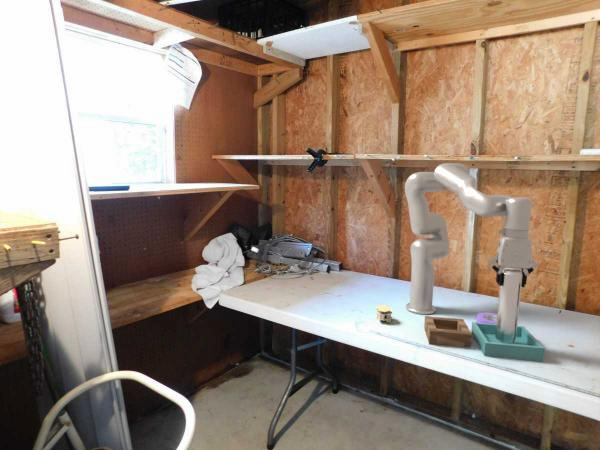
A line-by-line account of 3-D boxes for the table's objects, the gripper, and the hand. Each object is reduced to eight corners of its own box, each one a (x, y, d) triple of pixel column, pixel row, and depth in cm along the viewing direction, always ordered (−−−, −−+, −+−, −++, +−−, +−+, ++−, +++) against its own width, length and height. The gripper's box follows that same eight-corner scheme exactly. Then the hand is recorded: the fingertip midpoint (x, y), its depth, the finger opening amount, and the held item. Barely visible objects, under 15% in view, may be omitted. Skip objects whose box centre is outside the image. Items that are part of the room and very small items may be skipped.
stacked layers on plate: (367, 317, 163) (368, 305, 162) (387, 315, 165) (387, 303, 164) (378, 327, 153) (379, 313, 152) (399, 325, 156) (400, 311, 155)
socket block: (424, 328, 152) (424, 316, 151) (462, 331, 150) (463, 319, 149) (429, 344, 138) (430, 330, 138) (471, 348, 136) (472, 334, 135)
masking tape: (507, 324, 158) (508, 315, 158) (510, 335, 147) (511, 325, 147) (476, 319, 163) (476, 310, 162) (476, 329, 152) (477, 320, 151)
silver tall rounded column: (509, 335, 141) (515, 267, 137) (519, 343, 134) (527, 272, 130) (491, 335, 140) (497, 267, 137) (501, 343, 134) (508, 272, 130)
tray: (471, 333, 148) (472, 322, 147) (522, 337, 145) (523, 326, 144) (484, 355, 131) (485, 343, 130) (543, 361, 127) (544, 348, 127)
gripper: (491, 234, 130) (486, 286, 132) (548, 237, 126) (542, 290, 129) (485, 231, 137) (480, 280, 140) (539, 233, 134) (533, 284, 136)
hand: (510, 284), depth 134 cm, fingers closed on silver tall rounded column, 6 cm apart
